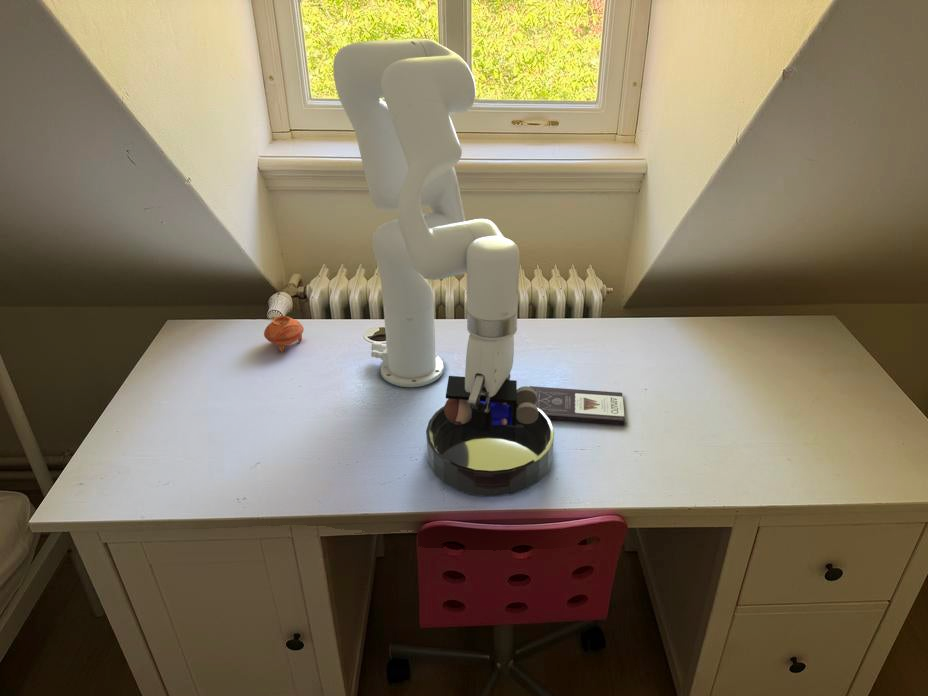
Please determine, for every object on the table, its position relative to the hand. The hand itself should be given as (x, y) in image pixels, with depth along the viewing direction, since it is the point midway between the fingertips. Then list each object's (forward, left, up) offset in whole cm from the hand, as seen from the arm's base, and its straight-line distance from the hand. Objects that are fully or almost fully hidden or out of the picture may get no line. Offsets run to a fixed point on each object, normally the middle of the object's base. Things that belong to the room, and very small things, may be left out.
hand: (490, 414), depth 113 cm
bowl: (0, 0, -9) cm, 9 cm away
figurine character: (0, 0, -2) cm, 2 cm away
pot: (-53, +18, -9) cm, 57 cm away
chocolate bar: (+10, +19, -9) cm, 23 cm away
